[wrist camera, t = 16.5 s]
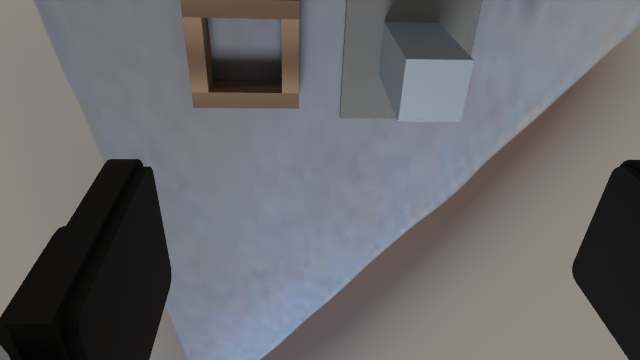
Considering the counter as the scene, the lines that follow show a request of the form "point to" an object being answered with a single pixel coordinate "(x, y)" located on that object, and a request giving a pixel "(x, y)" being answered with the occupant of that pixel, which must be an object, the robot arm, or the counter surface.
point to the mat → (366, 41)
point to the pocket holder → (209, 93)
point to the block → (424, 72)
